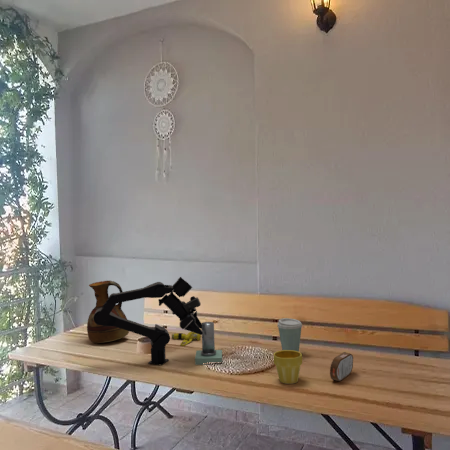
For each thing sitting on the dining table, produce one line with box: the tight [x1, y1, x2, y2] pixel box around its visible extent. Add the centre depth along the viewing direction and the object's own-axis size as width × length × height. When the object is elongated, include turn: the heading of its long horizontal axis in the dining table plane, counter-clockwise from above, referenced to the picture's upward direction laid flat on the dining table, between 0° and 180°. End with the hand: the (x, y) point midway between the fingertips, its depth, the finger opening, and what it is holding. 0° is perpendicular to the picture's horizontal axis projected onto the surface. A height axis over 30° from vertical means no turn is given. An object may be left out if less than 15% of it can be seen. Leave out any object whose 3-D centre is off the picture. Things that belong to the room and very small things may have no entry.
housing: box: [201, 321, 216, 356], centre depth 186 cm, size 6×6×13 cm
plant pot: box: [272, 349, 303, 385], centre depth 161 cm, size 10×10×10 cm
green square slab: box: [194, 349, 223, 366], centre depth 186 cm, size 11×11×2 cm
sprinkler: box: [171, 331, 202, 347], centre depth 218 cm, size 19×4×15 cm
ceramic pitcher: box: [86, 280, 130, 344], centre depth 220 cm, size 20×20×30 cm
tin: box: [329, 351, 354, 382], centre depth 162 cm, size 15×3×8 cm, turn 141°
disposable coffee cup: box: [277, 317, 303, 352], centre depth 190 cm, size 11×11×15 cm
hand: (202, 331), depth 186 cm, fingers open, 9 cm apart
